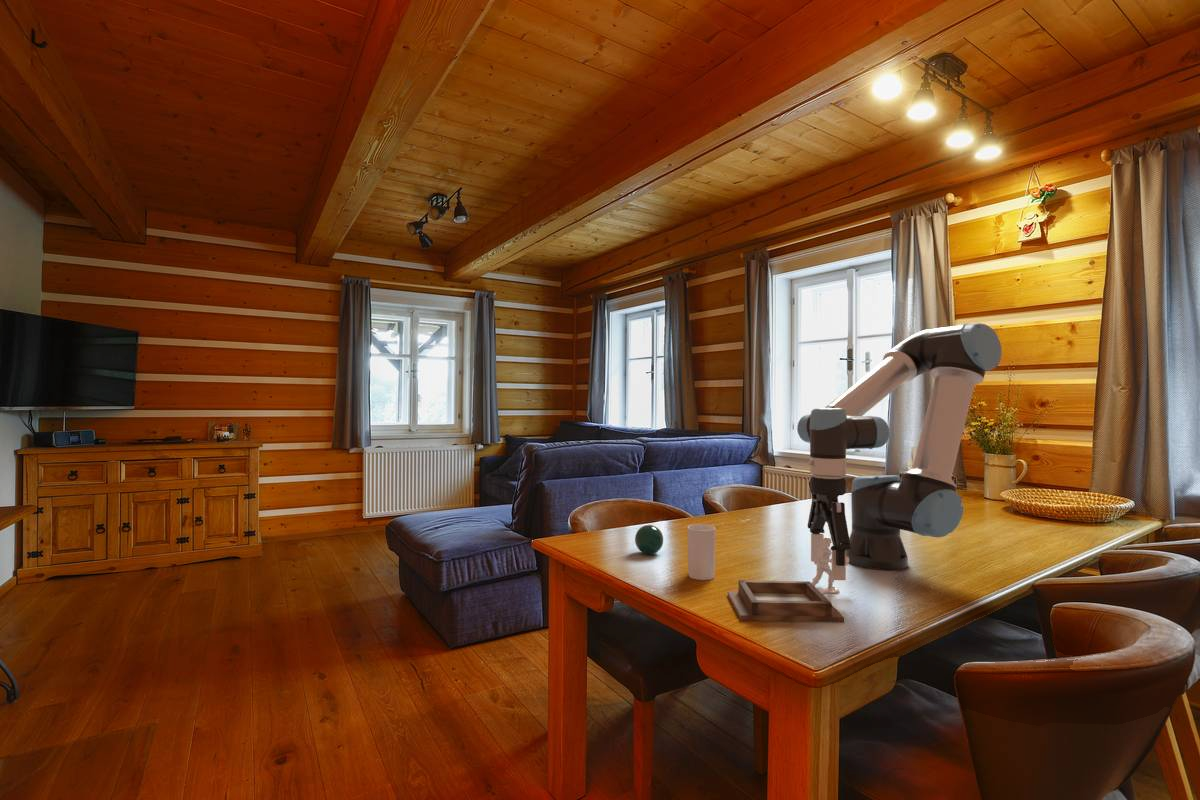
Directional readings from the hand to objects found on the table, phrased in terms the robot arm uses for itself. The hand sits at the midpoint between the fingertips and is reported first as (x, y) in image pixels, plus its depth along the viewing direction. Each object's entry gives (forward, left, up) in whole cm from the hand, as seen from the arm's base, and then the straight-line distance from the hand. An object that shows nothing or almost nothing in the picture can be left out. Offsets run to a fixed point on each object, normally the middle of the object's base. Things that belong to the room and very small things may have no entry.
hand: (827, 570), depth 128 cm
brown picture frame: (+13, +11, -5) cm, 18 cm away
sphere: (+39, -29, -5) cm, 49 cm away
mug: (+27, -11, -5) cm, 30 cm away
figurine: (0, 0, -5) cm, 5 cm away
